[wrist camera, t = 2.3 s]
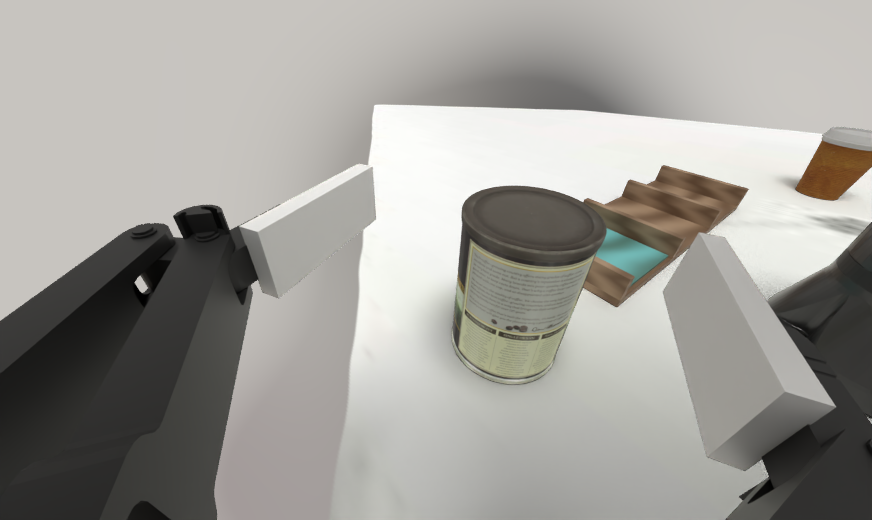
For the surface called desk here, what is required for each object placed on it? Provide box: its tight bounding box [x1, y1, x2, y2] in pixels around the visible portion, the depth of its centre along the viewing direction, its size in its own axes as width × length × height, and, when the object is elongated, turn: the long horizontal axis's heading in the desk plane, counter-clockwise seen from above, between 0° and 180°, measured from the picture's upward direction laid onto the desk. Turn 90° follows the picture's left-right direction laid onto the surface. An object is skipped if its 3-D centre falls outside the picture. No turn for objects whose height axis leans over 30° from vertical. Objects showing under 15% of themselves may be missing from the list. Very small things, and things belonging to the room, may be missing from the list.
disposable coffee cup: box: [796, 127, 872, 200], centre depth 62 cm, size 10×10×12 cm
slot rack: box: [583, 165, 749, 307], centre depth 50 cm, size 14×43×4 cm, turn 127°
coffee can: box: [452, 186, 607, 384], centre depth 28 cm, size 10×10×14 cm
